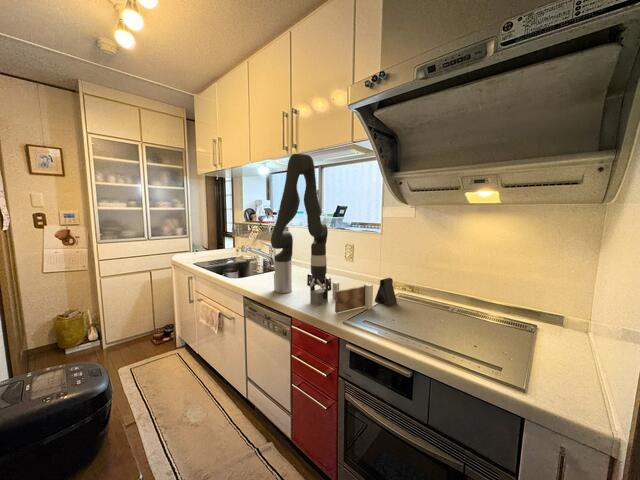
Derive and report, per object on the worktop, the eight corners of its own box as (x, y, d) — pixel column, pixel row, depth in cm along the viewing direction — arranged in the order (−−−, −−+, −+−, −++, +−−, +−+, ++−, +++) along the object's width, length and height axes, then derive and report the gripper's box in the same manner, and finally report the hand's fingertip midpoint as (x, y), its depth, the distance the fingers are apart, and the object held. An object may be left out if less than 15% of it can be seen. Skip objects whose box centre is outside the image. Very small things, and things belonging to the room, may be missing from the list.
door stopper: (374, 301, 127) (375, 277, 126) (382, 298, 131) (383, 275, 130) (389, 306, 120) (390, 281, 119) (397, 304, 124) (398, 279, 122)
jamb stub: (332, 297, 132) (332, 282, 131) (335, 296, 134) (335, 281, 133) (336, 298, 131) (336, 283, 130) (339, 297, 132) (339, 282, 131)
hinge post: (364, 308, 118) (365, 285, 117) (368, 306, 120) (369, 283, 119) (368, 309, 117) (369, 286, 115) (372, 307, 119) (372, 284, 117)
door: (338, 314, 110) (338, 291, 109) (335, 312, 113) (335, 289, 111) (368, 306, 119) (368, 285, 117) (364, 305, 121) (365, 284, 120)
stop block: (310, 303, 125) (310, 291, 124) (320, 299, 130) (320, 288, 129) (317, 306, 121) (317, 293, 120) (327, 302, 126) (327, 290, 125)
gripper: (302, 263, 125) (303, 295, 127) (323, 267, 115) (323, 302, 117) (314, 261, 130) (314, 292, 132) (335, 264, 120) (335, 298, 122)
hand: (318, 297), depth 124 cm, fingers open, 8 cm apart
